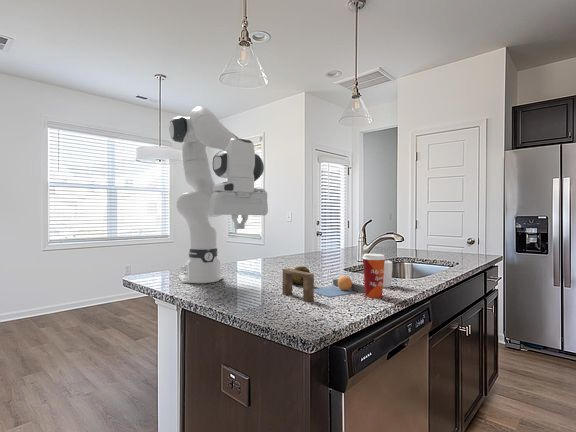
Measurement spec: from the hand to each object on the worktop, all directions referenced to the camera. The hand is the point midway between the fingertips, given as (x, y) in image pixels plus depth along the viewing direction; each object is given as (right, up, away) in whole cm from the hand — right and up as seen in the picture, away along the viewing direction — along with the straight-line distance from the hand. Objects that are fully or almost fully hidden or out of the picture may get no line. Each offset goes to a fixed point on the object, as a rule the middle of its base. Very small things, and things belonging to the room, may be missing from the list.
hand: (239, 228), depth 114 cm
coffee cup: (+47, -25, +10) cm, 54 cm away
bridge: (+20, -25, +7) cm, 32 cm away
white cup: (+55, -25, +28) cm, 67 cm away
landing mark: (+33, -25, +17) cm, 44 cm away
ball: (+38, -22, +19) cm, 48 cm away
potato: (+21, -25, +30) cm, 44 cm away
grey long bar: (+41, -25, +21) cm, 52 cm away
